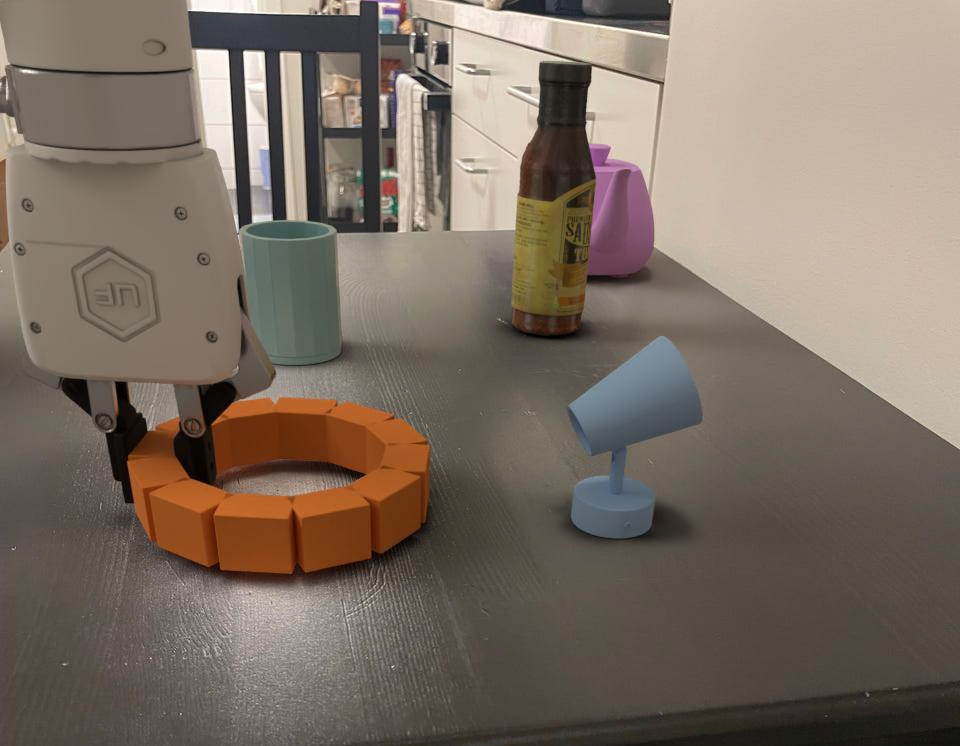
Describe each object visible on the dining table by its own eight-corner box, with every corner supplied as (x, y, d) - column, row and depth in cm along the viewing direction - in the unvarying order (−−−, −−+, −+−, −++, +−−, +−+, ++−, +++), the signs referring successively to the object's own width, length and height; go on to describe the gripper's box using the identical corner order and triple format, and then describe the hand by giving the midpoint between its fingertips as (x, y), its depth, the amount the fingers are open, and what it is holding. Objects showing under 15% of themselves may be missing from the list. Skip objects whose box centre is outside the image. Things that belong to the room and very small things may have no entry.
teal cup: (242, 363, 73) (229, 237, 68) (262, 335, 79) (251, 218, 74) (334, 367, 73) (327, 241, 68) (347, 339, 79) (342, 222, 74)
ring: (96, 563, 47) (85, 508, 45) (186, 438, 59) (179, 391, 58) (415, 580, 47) (415, 525, 45) (436, 451, 59) (437, 404, 58)
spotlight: (658, 494, 57) (546, 504, 55) (684, 322, 51) (560, 327, 49) (694, 533, 53) (574, 544, 51) (726, 351, 47) (593, 357, 46)
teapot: (507, 249, 108) (512, 131, 101) (621, 249, 110) (634, 133, 104) (548, 297, 92) (557, 161, 85) (681, 296, 94) (700, 162, 87)
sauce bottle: (570, 343, 80) (594, 66, 69) (499, 333, 82) (511, 61, 71) (590, 323, 85) (615, 61, 74) (523, 313, 87) (538, 57, 76)
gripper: (-118, 115, 39) (-9, 518, 50) (276, 136, 39) (303, 534, 50) (-33, 96, 46) (49, 458, 56) (308, 114, 46) (326, 473, 56)
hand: (168, 491), depth 53 cm, fingers closed on ring, 2 cm apart
